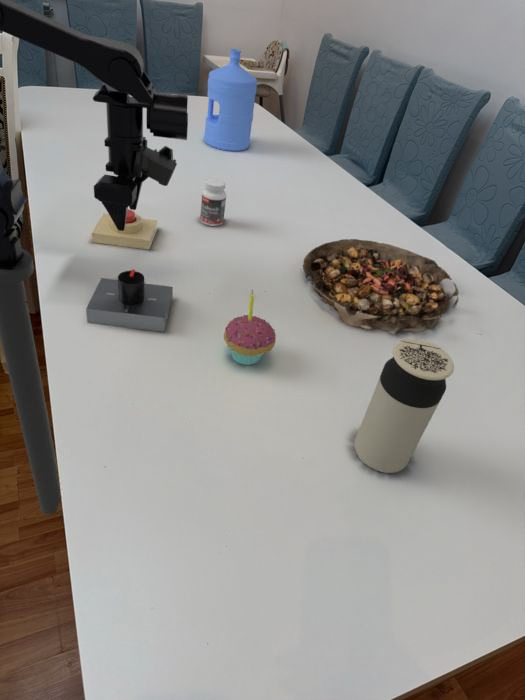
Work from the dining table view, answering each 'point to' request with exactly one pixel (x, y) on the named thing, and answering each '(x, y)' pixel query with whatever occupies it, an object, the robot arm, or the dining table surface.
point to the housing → (125, 232)
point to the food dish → (379, 285)
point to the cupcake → (249, 337)
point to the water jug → (230, 106)
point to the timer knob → (131, 287)
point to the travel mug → (402, 404)
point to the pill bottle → (213, 202)
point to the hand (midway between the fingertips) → (127, 219)
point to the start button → (130, 216)
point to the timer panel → (130, 307)
